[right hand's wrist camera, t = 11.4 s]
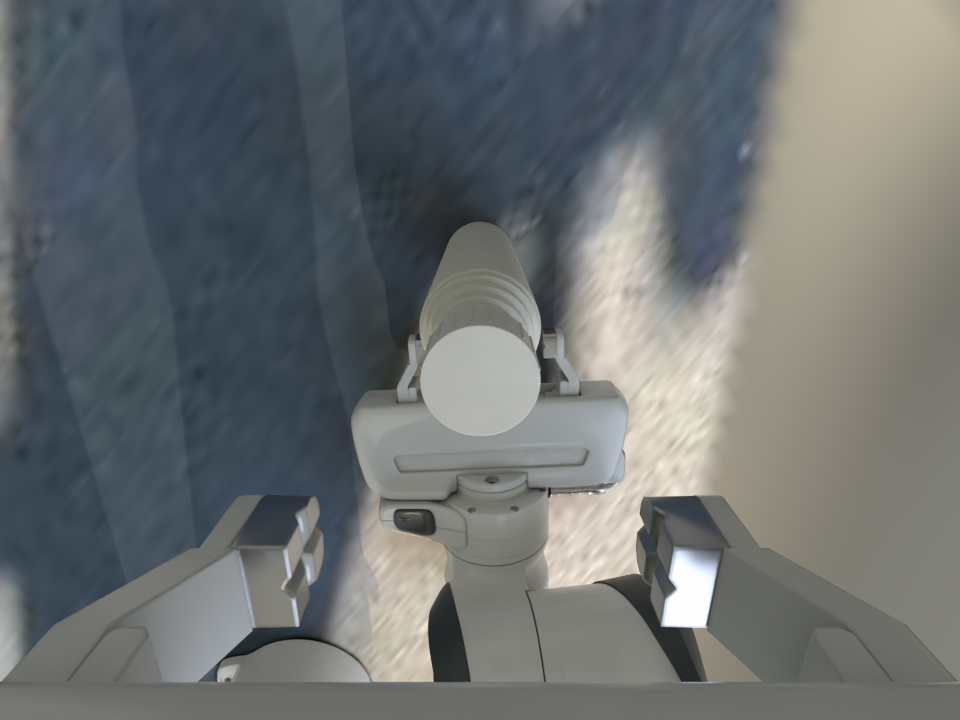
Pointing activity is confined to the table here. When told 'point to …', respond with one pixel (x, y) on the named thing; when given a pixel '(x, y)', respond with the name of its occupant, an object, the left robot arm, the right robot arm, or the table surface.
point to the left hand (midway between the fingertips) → (485, 333)
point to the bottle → (480, 280)
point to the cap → (480, 372)
